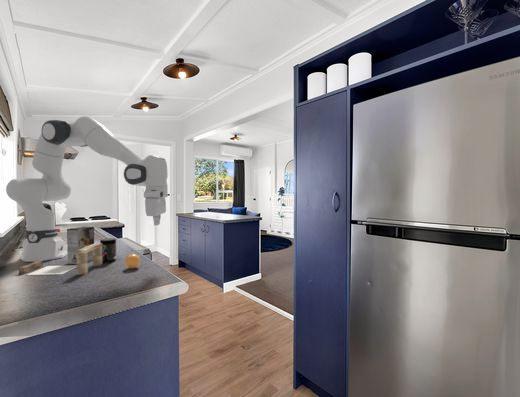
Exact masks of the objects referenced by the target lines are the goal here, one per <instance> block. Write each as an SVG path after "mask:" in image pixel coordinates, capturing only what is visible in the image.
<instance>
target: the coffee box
mask: <svg viewBox="0 0 520 397" xmlns="http://www.w3.org/2000/svg"><path fill="white" fill-rule="evenodd" d="M66 236H67V237H66V240H67V241H66V242H67V243H66V250H67V254H68V255H67V264H68V265H69V264H70V265H72V264H73V265H77V250H79V249H82V248H84V247H87V246H89V245H92V244H95V226H78V227H77V226H76V227H69V228H66ZM91 261H93V250H91V251H89V252H88V262H91Z"/></svg>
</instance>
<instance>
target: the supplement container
mask: <svg viewBox="0 0 520 397" xmlns="http://www.w3.org/2000/svg"><path fill="white" fill-rule="evenodd" d="M99 243H102V264H103V263H105V264H107V263H113V262H115V261H116V260H117V238H116V237H107V238H101V239H100V240H99Z"/></svg>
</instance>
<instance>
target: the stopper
mask: <svg viewBox="0 0 520 397" xmlns="http://www.w3.org/2000/svg"><path fill="white" fill-rule="evenodd" d="M43 264H44V261H33V262H31V263H29V264H25V265H23V266H20V267H18V275H25V274H26V275H27V274H29V273H32V272H34V271H37V270H39V269H41V268H44V267H43V266H44V265H43Z"/></svg>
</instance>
